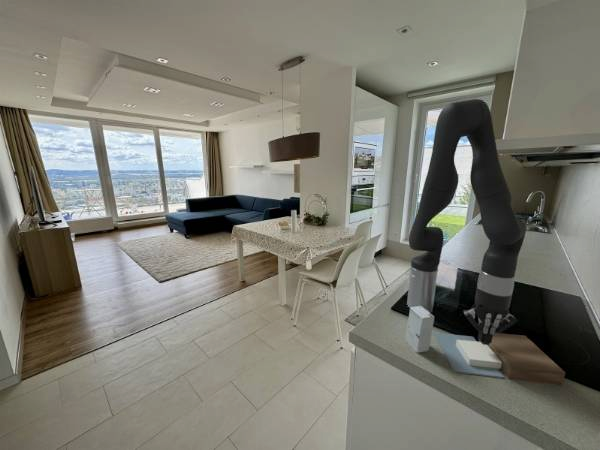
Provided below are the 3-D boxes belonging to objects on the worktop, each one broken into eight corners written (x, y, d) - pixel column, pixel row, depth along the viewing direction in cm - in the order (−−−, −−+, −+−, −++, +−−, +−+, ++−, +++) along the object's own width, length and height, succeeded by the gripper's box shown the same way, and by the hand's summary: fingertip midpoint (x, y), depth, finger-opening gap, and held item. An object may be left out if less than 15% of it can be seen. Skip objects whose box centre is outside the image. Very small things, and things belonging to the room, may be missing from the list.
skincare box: (404, 340, 78) (408, 306, 75) (417, 338, 79) (420, 305, 76) (417, 354, 72) (421, 318, 69) (430, 351, 73) (435, 316, 70)
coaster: (455, 345, 75) (456, 339, 74) (484, 347, 74) (485, 342, 73) (468, 365, 67) (469, 359, 67) (500, 368, 66) (502, 362, 65)
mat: (433, 333, 81) (433, 332, 81) (473, 337, 79) (473, 336, 79) (454, 371, 65) (454, 370, 65) (504, 378, 63) (504, 377, 63)
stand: (479, 342, 77) (481, 331, 76) (522, 346, 74) (525, 335, 73) (508, 378, 63) (511, 366, 62) (561, 385, 61) (565, 372, 60)
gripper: (512, 283, 68) (501, 336, 72) (461, 280, 70) (453, 331, 74) (532, 297, 61) (519, 355, 64) (474, 292, 63) (464, 349, 67)
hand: (483, 342), depth 69 cm, fingers closed
